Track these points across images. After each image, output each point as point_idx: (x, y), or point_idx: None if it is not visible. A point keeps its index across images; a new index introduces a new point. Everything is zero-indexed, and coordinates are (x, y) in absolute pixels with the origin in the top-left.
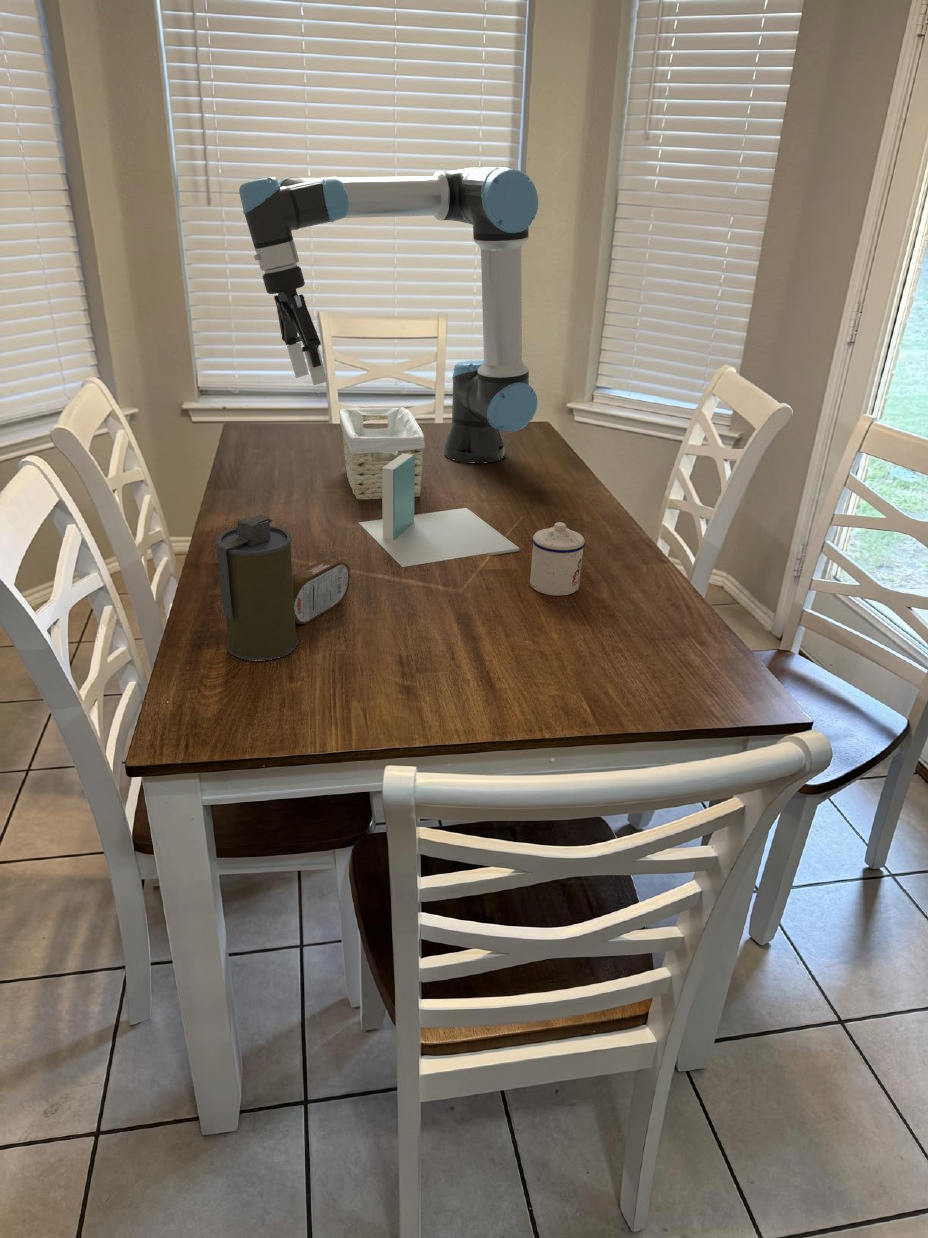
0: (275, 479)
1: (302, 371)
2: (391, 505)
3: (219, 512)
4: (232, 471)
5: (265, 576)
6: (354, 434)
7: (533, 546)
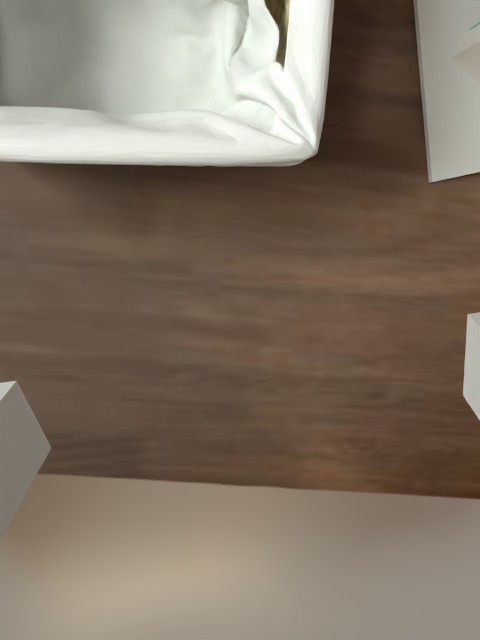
0: (70, 353)
1: (19, 431)
2: None
3: (282, 471)
4: None
5: None
6: (275, 138)
7: None
